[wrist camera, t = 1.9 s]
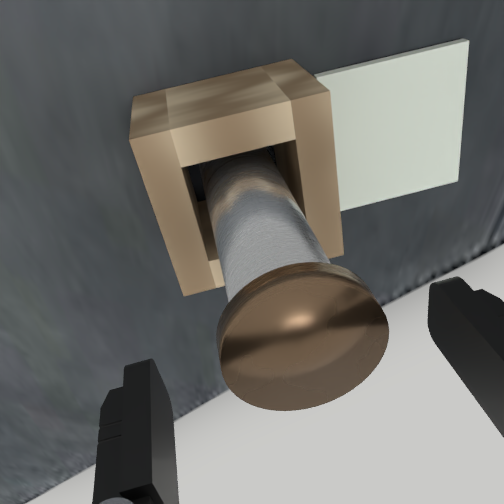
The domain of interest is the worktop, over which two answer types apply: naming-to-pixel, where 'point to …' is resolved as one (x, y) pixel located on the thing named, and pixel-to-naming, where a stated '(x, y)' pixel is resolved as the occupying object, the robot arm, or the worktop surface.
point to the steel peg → (284, 294)
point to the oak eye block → (233, 142)
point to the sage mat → (398, 122)
